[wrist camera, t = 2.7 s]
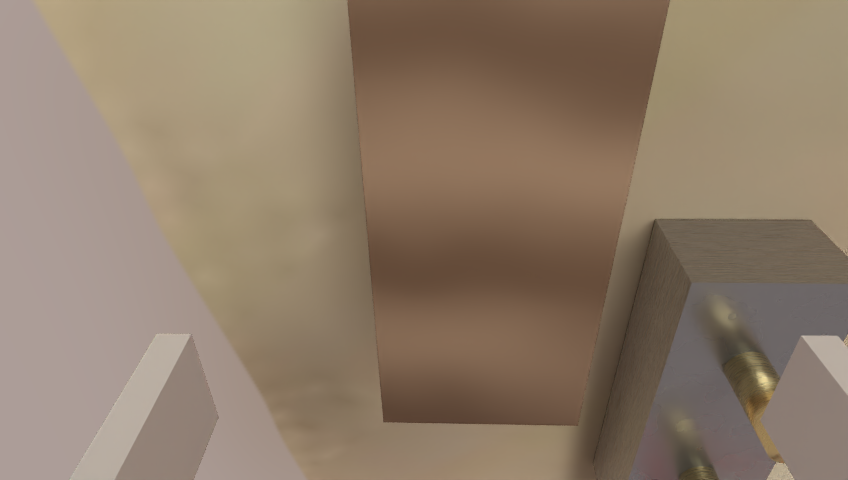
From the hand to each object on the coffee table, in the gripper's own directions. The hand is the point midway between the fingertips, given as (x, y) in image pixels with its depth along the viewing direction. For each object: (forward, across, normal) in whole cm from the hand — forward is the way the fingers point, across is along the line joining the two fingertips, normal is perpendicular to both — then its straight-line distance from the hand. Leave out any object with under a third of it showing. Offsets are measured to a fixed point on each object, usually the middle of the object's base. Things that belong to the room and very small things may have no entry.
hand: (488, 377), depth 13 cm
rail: (+10, +10, -10) cm, 18 cm away
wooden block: (+10, 0, 0) cm, 10 cm away
